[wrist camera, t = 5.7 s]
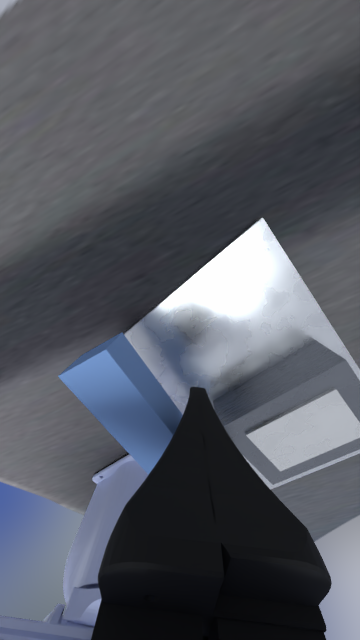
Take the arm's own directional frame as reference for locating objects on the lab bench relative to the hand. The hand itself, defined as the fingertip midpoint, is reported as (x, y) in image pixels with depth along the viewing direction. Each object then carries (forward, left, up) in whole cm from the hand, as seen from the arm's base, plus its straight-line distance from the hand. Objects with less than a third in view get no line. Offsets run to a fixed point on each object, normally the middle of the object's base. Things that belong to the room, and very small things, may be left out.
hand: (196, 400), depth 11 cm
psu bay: (+2, -7, -6) cm, 9 cm away
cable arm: (-3, -2, 0) cm, 4 cm away
